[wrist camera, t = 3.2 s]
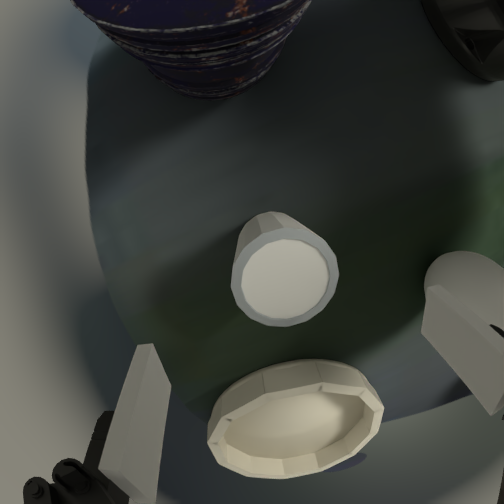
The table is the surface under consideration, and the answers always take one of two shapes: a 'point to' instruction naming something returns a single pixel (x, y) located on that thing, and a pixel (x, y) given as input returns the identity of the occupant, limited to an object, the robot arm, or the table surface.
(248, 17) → the storage jar
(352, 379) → the cream bowl
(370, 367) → the table surface
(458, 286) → the sauce bottle
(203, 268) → the table surface
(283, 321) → the shot glass
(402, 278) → the table surface
